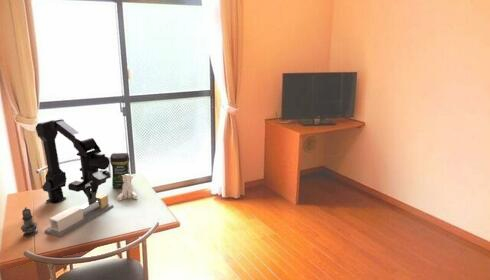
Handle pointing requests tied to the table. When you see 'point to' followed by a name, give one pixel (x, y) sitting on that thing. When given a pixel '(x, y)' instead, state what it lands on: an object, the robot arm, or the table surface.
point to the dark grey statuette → (28, 224)
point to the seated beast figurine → (127, 188)
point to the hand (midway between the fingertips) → (92, 197)
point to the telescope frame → (75, 217)
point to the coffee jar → (119, 168)
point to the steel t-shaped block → (91, 204)
